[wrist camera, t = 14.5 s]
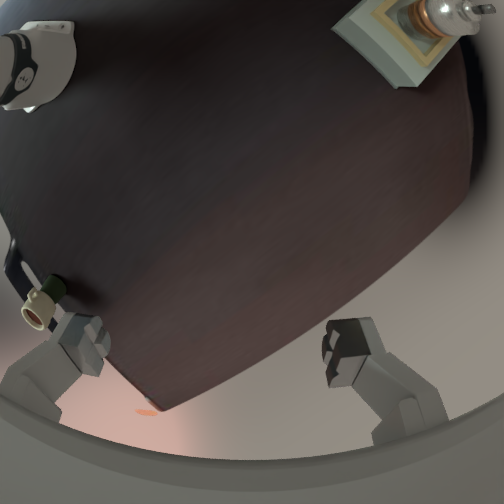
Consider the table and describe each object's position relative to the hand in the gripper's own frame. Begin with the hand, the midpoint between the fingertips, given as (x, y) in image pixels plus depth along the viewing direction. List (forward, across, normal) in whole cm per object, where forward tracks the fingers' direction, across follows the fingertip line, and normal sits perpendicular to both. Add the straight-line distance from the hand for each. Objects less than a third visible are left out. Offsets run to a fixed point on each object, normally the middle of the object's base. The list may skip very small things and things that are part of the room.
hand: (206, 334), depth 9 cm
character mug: (+35, +46, +27) cm, 64 cm away
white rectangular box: (+35, -24, -22) cm, 48 cm away
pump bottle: (+28, -24, -22) cm, 43 cm away
